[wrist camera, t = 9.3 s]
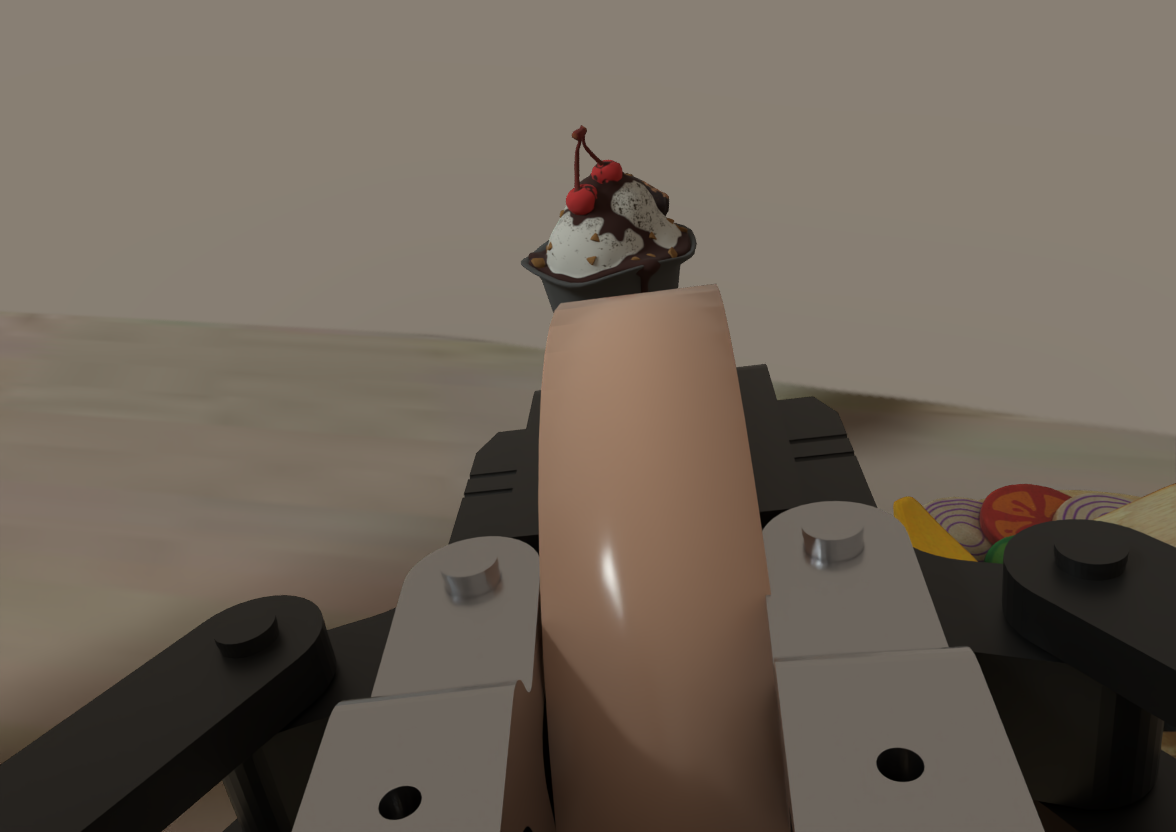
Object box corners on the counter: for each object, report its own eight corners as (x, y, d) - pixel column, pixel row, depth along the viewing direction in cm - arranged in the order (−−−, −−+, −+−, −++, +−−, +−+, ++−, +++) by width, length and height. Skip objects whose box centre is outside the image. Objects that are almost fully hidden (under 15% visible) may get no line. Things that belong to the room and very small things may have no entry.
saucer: (856, 1445, 10) (792, 583, 6) (671, 1447, 10) (482, 614, 6) (750, 728, 19) (697, 197, 15) (655, 735, 19) (575, 213, 15)
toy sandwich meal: (1121, 485, 37) (1132, 369, 35) (1511, 725, 26) (1562, 570, 24) (812, 576, 35) (805, 457, 33) (1081, 885, 23) (1096, 729, 21)
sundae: (599, 541, 39) (534, 147, 32) (540, 470, 44) (475, 124, 38) (749, 488, 41) (716, 106, 34) (674, 427, 46) (633, 90, 40)
